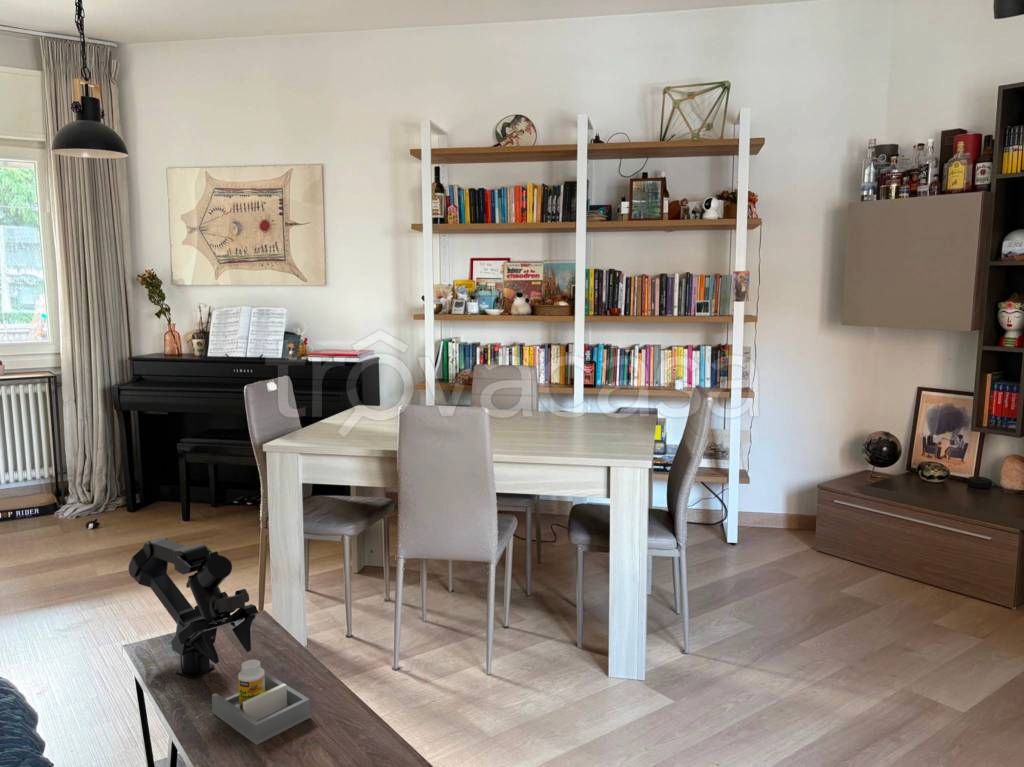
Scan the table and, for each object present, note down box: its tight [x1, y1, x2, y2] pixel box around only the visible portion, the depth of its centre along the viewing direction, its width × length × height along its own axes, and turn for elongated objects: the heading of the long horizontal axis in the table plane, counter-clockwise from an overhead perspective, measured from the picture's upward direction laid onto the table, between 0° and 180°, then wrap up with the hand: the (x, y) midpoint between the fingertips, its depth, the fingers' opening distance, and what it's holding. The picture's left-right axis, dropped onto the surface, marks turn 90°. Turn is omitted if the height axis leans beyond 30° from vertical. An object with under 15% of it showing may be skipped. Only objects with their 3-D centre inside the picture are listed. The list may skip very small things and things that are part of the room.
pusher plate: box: [243, 683, 288, 721], centre depth 163 cm, size 1×10×5 cm, turn 140°
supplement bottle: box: [237, 659, 265, 711], centre depth 165 cm, size 6×6×10 cm
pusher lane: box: [211, 671, 311, 746], centre depth 164 cm, size 18×13×4 cm
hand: (233, 656), depth 171 cm, fingers open, 9 cm apart
